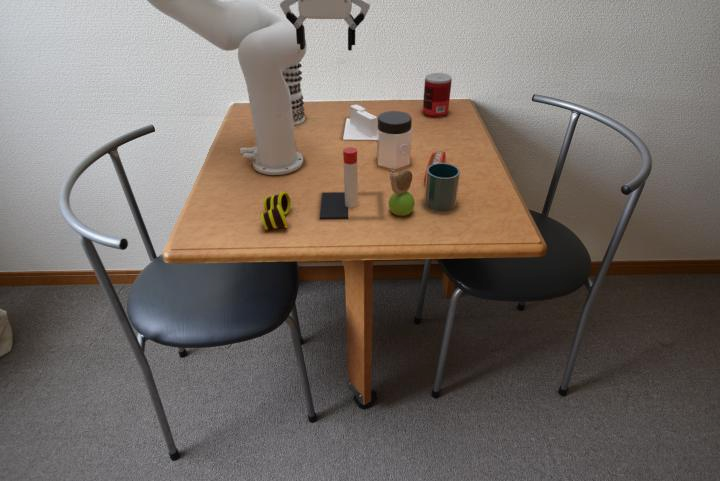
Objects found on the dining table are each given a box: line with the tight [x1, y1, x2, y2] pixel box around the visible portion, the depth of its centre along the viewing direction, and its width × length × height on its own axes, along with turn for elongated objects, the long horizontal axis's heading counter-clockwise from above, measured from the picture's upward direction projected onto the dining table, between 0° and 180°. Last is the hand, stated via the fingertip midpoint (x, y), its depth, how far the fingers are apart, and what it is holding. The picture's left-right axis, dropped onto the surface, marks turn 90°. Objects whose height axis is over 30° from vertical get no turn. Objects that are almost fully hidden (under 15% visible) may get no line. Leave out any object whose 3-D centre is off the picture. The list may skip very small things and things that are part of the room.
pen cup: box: [423, 162, 461, 212], centre depth 102 cm, size 7×7×8 cm
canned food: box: [422, 72, 453, 118], centre depth 142 cm, size 8×8×11 cm
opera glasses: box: [260, 190, 292, 231], centre depth 99 cm, size 10×5×5 cm, turn 2°
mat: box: [319, 191, 349, 220], centre depth 104 cm, size 13×10×1 cm
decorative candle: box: [282, 59, 306, 126], centre depth 135 cm, size 9×9×25 cm
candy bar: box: [423, 150, 447, 185], centre depth 114 cm, size 16×4×3 cm, turn 165°
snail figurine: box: [388, 168, 416, 217], centre depth 97 cm, size 5×6×12 cm
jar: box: [376, 110, 413, 170], centre depth 116 cm, size 9×8×12 cm
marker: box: [342, 146, 359, 209], centre depth 100 cm, size 3×3×13 cm
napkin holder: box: [342, 103, 378, 141], centre depth 135 cm, size 15×11×6 cm
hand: (326, 48), depth 97 cm, fingers open, 9 cm apart
